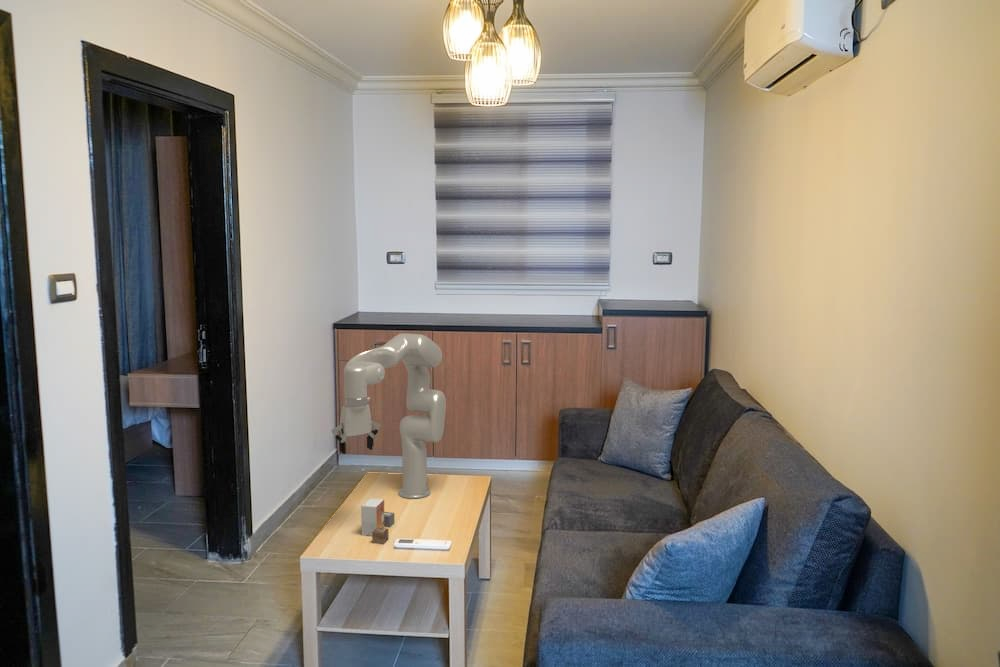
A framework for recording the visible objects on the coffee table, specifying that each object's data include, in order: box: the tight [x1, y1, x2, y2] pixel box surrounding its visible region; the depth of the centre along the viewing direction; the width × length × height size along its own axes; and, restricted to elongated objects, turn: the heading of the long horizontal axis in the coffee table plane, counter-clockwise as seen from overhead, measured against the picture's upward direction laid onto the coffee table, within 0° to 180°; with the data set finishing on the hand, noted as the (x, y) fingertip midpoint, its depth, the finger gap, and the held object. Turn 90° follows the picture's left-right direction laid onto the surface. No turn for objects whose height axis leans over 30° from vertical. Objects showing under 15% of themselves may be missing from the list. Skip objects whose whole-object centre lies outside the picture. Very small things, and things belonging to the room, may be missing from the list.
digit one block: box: [384, 511, 395, 529], centre depth 265 cm, size 4×4×4 cm
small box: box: [360, 497, 385, 537], centre depth 258 cm, size 8×6×10 cm
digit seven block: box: [371, 527, 389, 545], centre depth 250 cm, size 4×4×4 cm
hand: (356, 450), depth 255 cm, fingers open, 9 cm apart
